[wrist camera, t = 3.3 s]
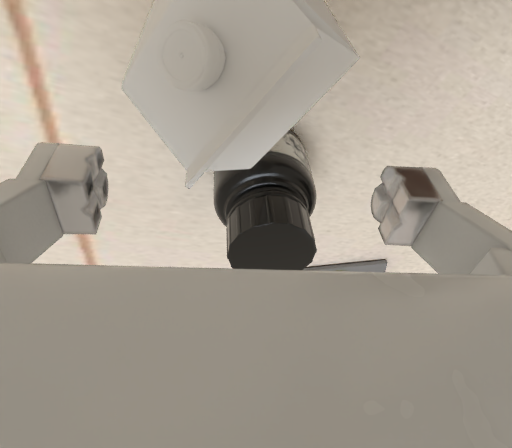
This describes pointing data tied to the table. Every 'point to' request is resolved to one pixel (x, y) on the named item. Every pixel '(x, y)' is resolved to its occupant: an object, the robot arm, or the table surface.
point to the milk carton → (232, 75)
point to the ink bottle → (269, 209)
